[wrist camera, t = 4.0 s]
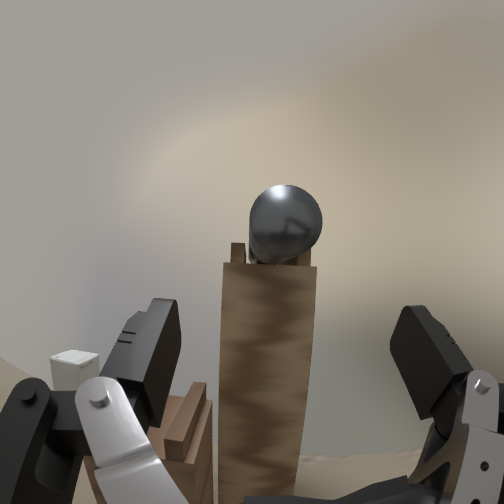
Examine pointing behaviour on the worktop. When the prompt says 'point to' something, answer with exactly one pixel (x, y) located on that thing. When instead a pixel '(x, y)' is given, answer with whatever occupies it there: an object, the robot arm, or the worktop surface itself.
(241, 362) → the stand
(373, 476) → the worktop surface
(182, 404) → the tall wooden post
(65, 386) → the skincare box
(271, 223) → the pin
